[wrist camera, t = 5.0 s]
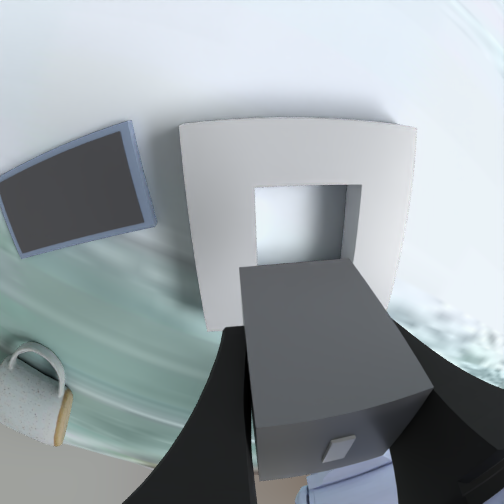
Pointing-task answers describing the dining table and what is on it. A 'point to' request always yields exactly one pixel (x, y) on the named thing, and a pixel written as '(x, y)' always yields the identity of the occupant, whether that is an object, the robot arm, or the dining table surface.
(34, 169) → the phone
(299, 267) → the block
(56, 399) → the ceramic mug
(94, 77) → the dining table surface
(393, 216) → the outlet plate
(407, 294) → the dining table surface
